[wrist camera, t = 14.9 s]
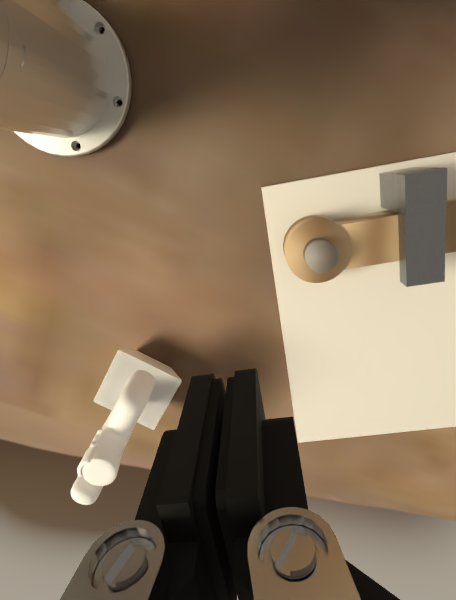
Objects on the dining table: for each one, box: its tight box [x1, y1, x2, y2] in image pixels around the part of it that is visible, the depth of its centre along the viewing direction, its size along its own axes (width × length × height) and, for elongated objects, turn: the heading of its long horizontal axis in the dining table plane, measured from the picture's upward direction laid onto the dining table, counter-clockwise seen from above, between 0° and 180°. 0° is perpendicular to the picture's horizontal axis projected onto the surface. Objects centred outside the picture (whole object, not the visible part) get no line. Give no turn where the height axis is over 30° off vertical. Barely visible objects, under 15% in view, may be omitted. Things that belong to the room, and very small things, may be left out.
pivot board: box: [261, 152, 456, 443], centre depth 38 cm, size 29×30×1 cm
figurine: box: [71, 349, 182, 505], centre depth 36 cm, size 7×9×15 cm
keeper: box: [379, 167, 447, 287], centre depth 32 cm, size 9×3×6 cm, turn 10°
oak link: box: [283, 198, 456, 283], centre depth 32 cm, size 25×6×5 cm, turn 101°
